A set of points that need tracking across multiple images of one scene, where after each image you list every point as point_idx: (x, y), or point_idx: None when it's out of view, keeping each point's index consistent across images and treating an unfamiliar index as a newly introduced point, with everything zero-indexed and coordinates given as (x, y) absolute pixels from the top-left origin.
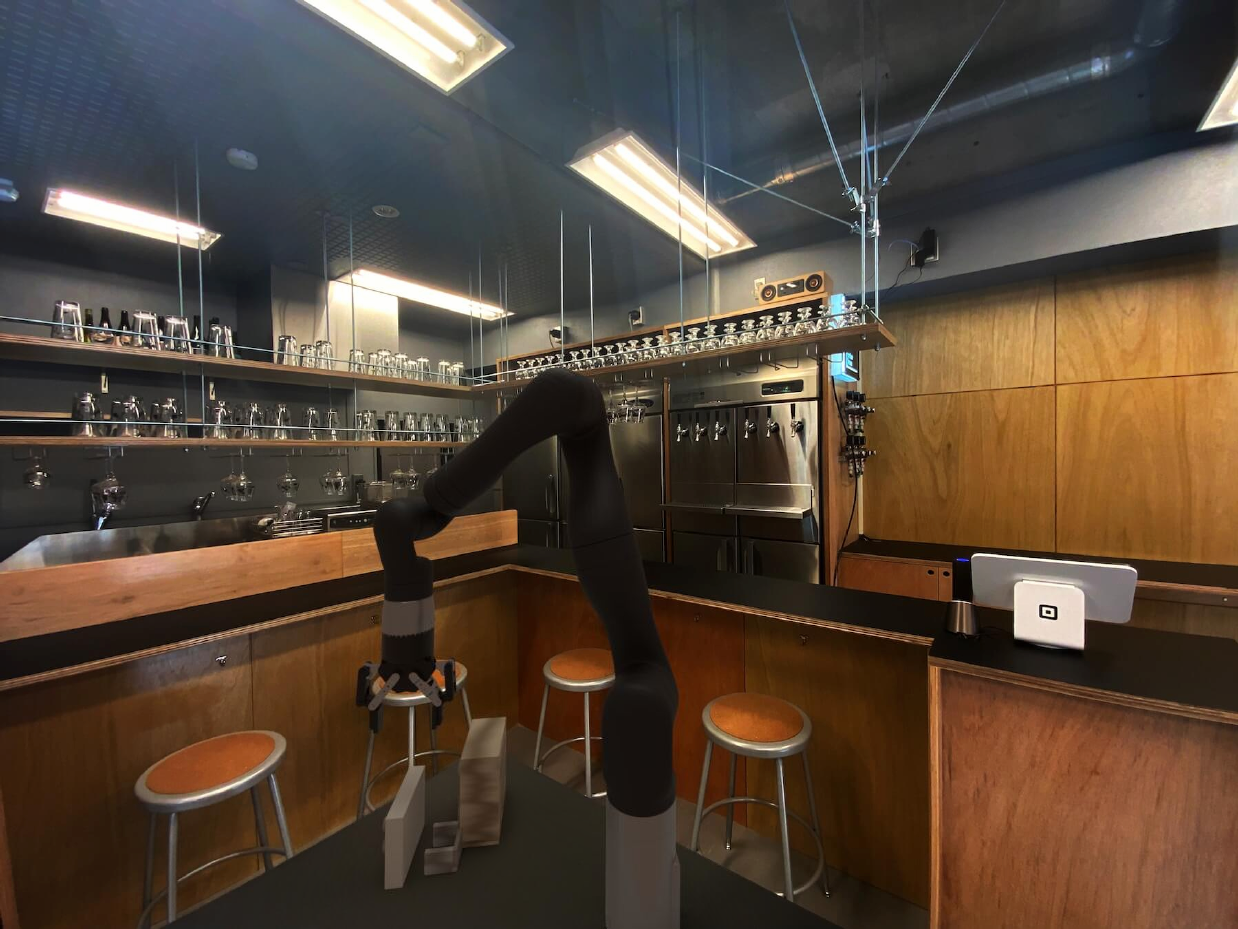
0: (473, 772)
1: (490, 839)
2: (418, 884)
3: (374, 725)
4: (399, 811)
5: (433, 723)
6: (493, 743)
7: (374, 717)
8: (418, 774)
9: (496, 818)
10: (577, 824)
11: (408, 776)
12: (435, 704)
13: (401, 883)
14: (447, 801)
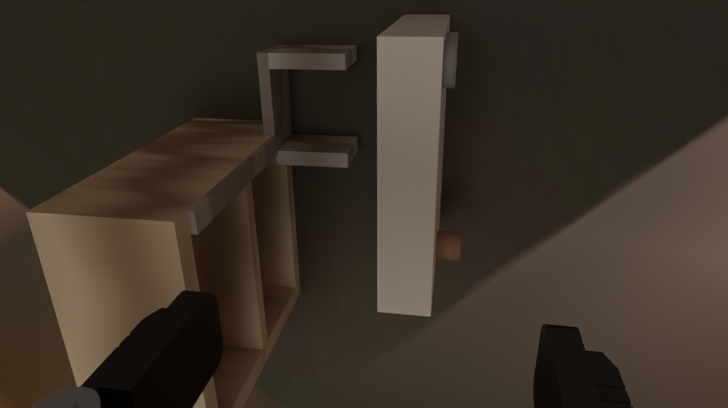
0: (153, 194)
1: (206, 121)
2: (364, 18)
3: (578, 360)
4: (400, 74)
5: (181, 311)
6: (79, 298)
7: (592, 406)
8: (387, 268)
9: (165, 137)
10: (22, 148)
11: (421, 265)
12: (87, 402)
13: (405, 15)
14: (360, 286)
